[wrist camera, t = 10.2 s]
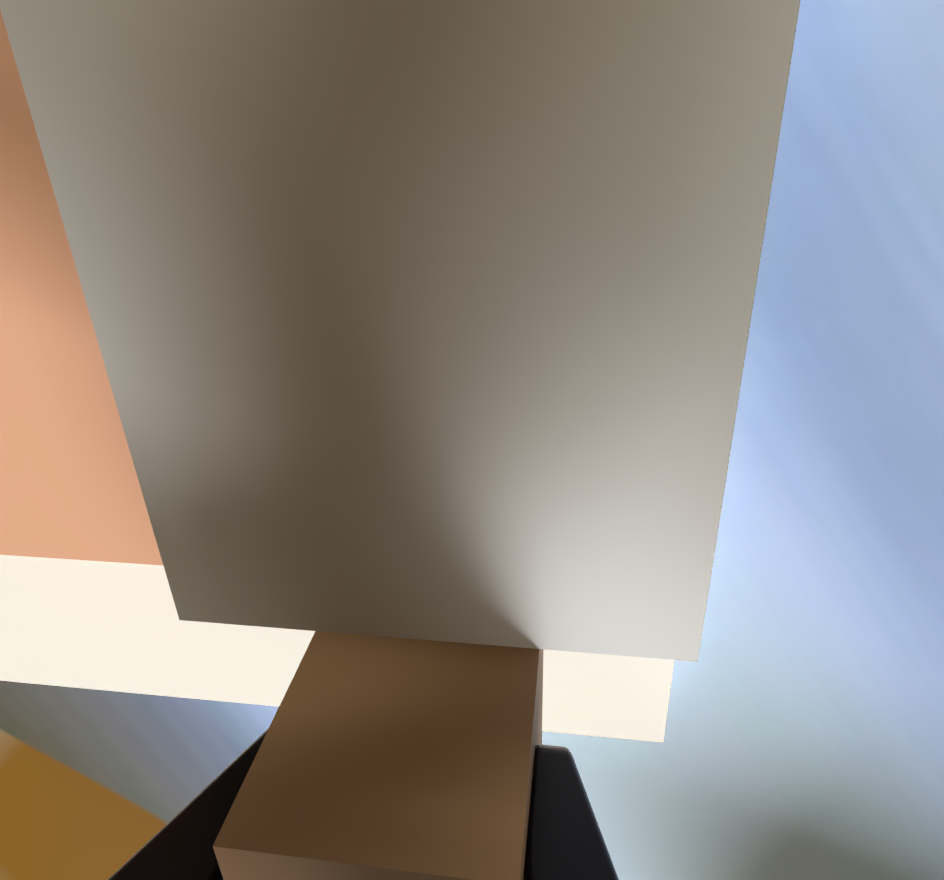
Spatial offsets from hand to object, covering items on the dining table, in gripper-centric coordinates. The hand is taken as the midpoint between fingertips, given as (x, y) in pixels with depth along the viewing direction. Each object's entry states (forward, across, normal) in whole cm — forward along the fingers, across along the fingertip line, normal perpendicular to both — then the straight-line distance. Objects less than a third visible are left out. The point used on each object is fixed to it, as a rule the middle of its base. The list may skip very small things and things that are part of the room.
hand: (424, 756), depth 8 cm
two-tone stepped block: (+2, 0, -1) cm, 2 cm away
